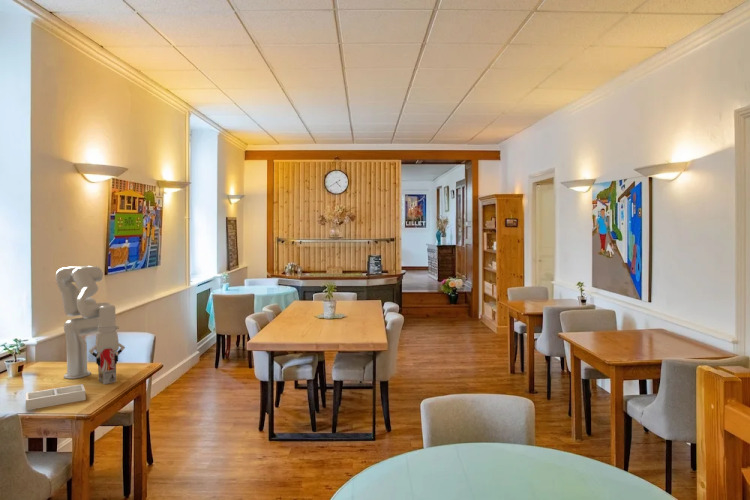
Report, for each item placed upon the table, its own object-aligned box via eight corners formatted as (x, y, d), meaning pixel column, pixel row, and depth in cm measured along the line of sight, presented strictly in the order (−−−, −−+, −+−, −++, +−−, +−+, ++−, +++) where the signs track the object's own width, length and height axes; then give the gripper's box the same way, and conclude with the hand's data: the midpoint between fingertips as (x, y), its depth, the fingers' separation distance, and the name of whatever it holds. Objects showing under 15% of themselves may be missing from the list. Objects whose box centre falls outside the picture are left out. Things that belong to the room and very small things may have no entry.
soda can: (108, 373, 247) (108, 349, 247) (95, 371, 249) (95, 348, 248) (118, 368, 254) (118, 345, 253) (106, 367, 256) (106, 344, 255)
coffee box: (97, 380, 262) (97, 351, 262) (110, 378, 267) (110, 348, 266) (104, 384, 256) (103, 354, 256) (117, 381, 261) (116, 351, 260)
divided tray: (25, 402, 230) (25, 393, 229) (83, 393, 243) (82, 384, 243) (26, 410, 220) (25, 400, 220) (85, 399, 233) (85, 390, 233)
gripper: (124, 326, 258) (124, 359, 259) (86, 329, 248) (86, 364, 249) (127, 329, 252) (127, 363, 253) (88, 333, 242) (88, 368, 243)
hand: (107, 363), depth 251 cm, fingers closed on soda can, 7 cm apart
